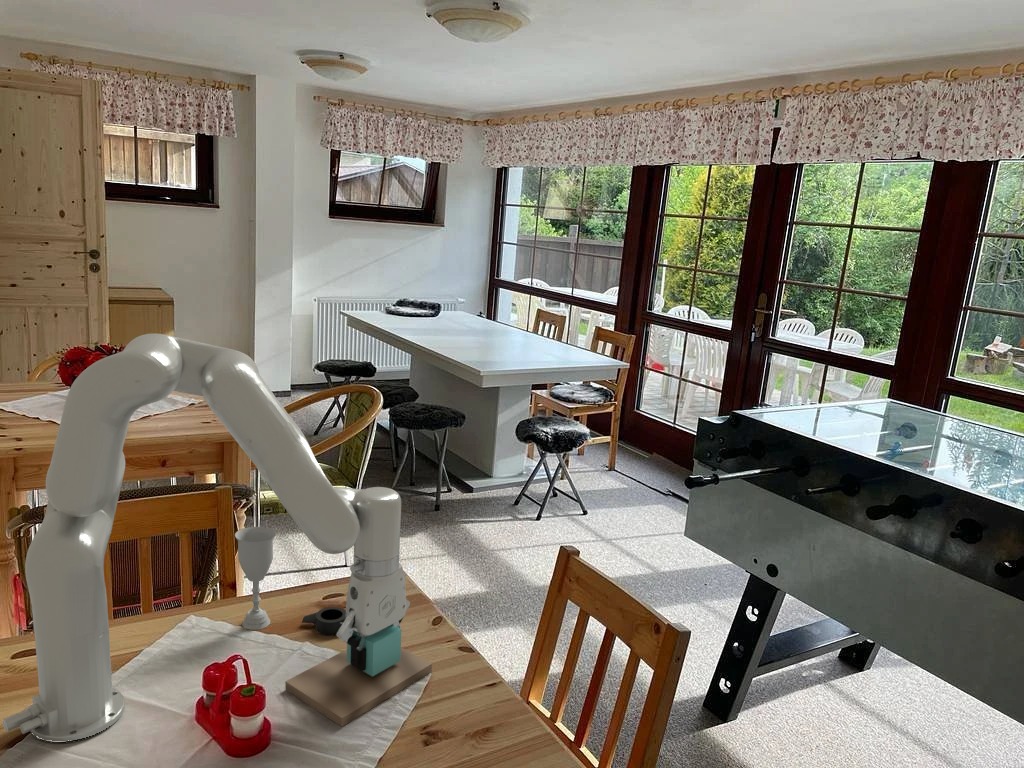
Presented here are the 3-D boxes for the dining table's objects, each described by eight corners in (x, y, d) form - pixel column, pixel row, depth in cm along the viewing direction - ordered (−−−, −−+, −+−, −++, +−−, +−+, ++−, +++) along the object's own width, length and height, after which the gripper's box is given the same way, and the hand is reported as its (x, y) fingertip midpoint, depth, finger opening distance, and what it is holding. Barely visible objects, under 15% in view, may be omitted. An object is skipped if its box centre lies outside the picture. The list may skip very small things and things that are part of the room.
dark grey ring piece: (331, 611, 153) (331, 598, 152) (364, 630, 147) (364, 616, 146) (298, 626, 147) (298, 612, 146) (331, 646, 141) (332, 632, 140)
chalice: (283, 618, 149) (283, 530, 145) (263, 635, 143) (262, 544, 139) (249, 610, 151) (248, 524, 147) (228, 627, 144) (226, 537, 141)
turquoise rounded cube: (372, 676, 129) (373, 643, 127) (346, 661, 132) (347, 629, 131) (400, 660, 134) (401, 629, 132) (374, 646, 137) (375, 615, 136)
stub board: (341, 726, 119) (342, 695, 118) (285, 689, 127) (285, 659, 126) (431, 671, 135) (432, 642, 134) (376, 641, 143) (376, 614, 142)
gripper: (351, 586, 120) (349, 690, 124) (428, 552, 134) (424, 646, 138) (320, 571, 124) (319, 671, 128) (398, 539, 138) (395, 631, 142)
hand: (373, 657), depth 133 cm, fingers closed on turquoise rounded cube, 6 cm apart
